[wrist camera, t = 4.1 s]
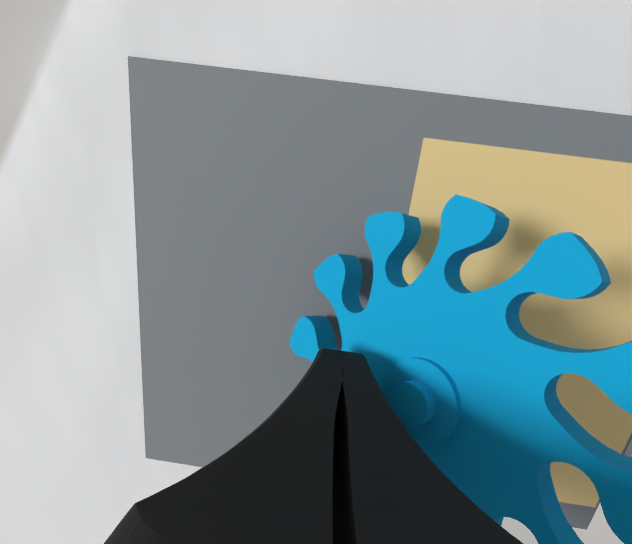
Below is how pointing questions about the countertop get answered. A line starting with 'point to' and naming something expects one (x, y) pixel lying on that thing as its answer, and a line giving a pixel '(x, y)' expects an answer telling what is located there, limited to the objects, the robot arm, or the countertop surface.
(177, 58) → the countertop surface
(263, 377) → the mat
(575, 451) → the gear
